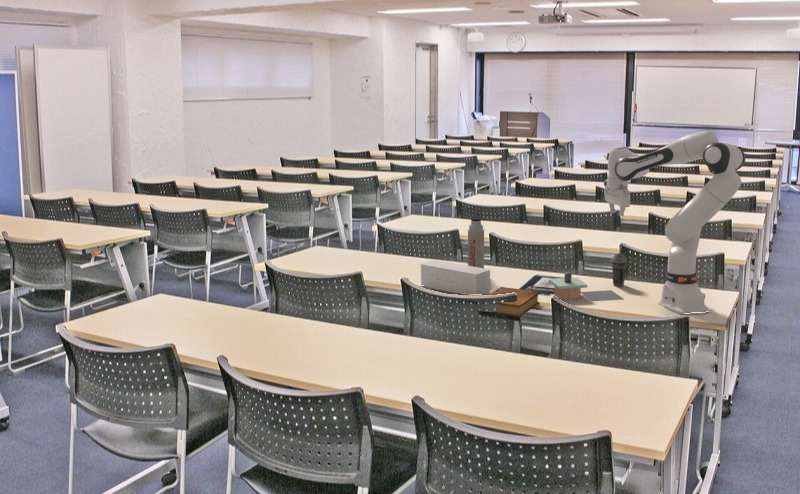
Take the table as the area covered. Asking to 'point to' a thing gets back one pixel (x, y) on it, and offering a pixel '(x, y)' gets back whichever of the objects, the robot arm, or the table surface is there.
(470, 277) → the white oblong block
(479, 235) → the thermos bottle
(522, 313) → the diary
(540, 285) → the sketchbook
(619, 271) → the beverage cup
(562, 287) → the teal square knobbed lid
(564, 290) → the bowl
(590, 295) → the mat
